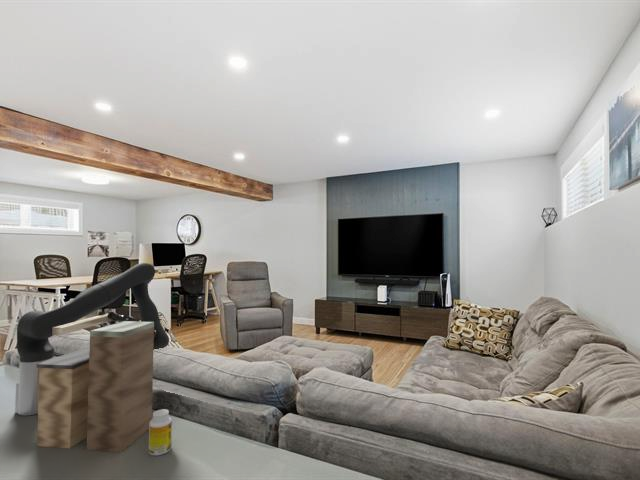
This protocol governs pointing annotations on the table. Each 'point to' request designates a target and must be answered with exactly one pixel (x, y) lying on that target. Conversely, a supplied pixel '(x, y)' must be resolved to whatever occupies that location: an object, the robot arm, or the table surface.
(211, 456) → the table surface
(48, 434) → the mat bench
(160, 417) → the supplement bottle
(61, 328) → the slat
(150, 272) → the robot arm
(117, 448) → the walnut stand
